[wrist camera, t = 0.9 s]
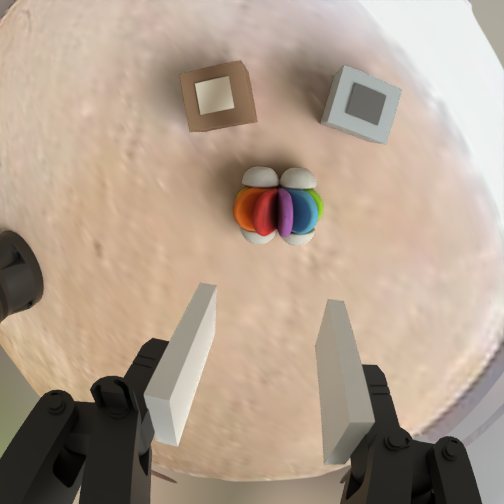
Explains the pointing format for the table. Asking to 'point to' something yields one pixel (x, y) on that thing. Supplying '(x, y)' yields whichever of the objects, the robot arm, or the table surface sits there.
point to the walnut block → (218, 97)
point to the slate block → (361, 105)
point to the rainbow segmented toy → (278, 205)
